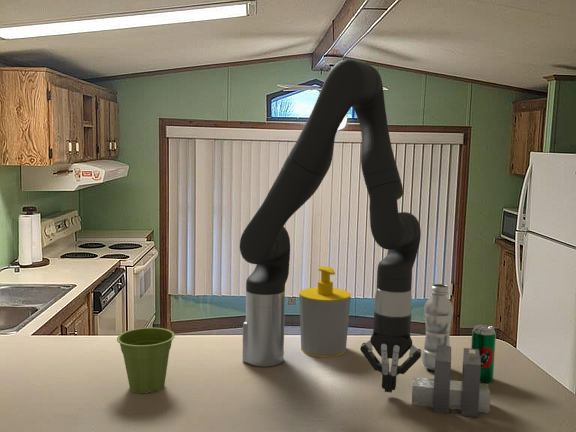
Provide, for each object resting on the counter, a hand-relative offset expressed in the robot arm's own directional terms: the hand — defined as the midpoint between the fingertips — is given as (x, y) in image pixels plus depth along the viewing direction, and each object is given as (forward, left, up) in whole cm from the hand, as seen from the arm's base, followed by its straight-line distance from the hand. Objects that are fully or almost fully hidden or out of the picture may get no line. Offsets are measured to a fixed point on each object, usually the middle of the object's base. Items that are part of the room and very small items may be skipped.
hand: (388, 390), depth 125 cm
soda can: (+19, +16, -2) cm, 25 cm away
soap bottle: (-19, +24, -2) cm, 31 cm away
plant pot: (-50, -11, -2) cm, 51 cm away
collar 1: (+11, 0, -1) cm, 11 cm away
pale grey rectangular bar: (+12, 0, -1) cm, 12 cm away
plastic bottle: (+9, +19, -2) cm, 21 cm away
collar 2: (+16, 0, -1) cm, 16 cm away
